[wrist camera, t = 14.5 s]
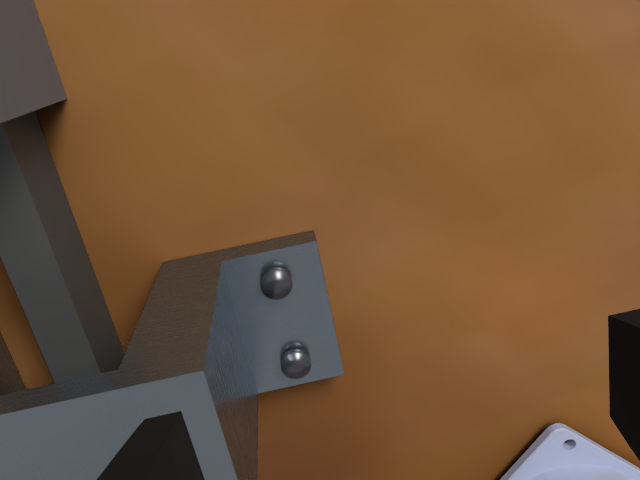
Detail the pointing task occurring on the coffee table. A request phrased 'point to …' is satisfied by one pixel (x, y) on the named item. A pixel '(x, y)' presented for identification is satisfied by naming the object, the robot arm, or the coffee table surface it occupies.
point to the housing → (184, 366)
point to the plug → (44, 212)
